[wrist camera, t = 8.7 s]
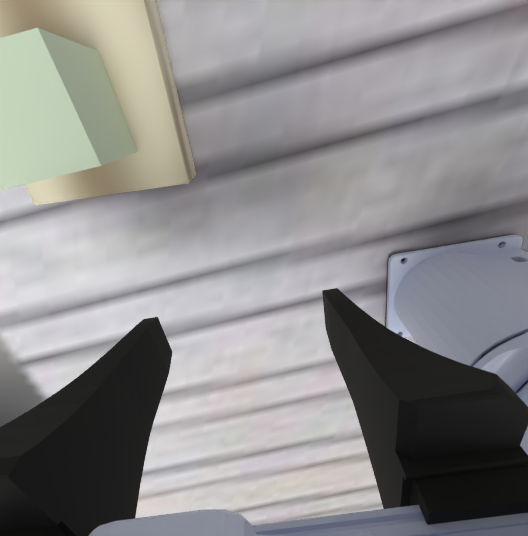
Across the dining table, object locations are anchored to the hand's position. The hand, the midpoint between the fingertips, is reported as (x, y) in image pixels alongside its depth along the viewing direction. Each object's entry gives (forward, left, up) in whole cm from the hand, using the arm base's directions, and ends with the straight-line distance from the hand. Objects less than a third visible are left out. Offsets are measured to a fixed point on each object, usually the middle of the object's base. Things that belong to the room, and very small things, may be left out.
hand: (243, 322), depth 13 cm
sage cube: (+7, -9, -7) cm, 13 cm away
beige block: (+7, -10, -10) cm, 15 cm away
